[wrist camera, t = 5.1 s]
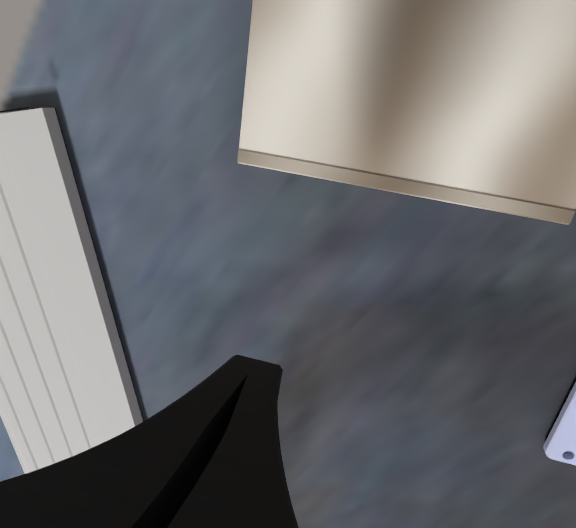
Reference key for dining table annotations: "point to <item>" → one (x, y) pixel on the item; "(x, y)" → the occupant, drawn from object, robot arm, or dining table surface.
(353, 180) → the tan flat block
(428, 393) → the dining table surface
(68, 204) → the baseboard
